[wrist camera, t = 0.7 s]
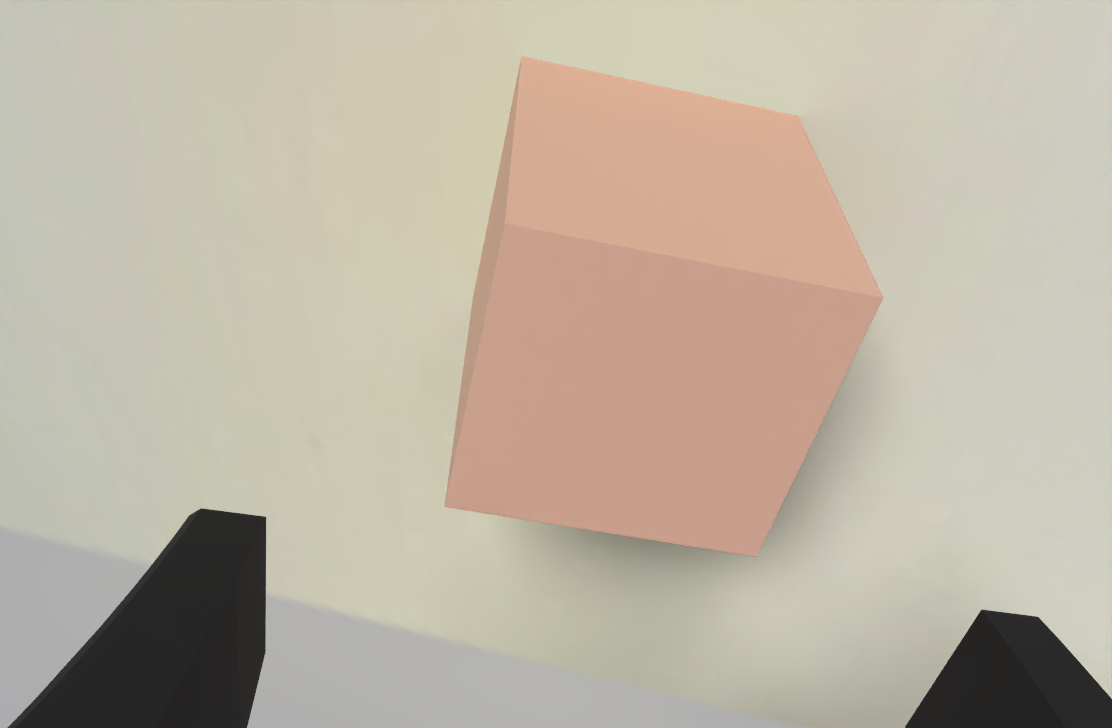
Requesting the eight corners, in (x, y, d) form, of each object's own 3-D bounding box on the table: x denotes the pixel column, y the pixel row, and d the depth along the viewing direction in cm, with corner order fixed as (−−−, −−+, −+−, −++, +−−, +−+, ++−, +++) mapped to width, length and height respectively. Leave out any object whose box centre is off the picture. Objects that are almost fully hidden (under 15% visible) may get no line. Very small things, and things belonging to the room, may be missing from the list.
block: (797, 115, 18) (883, 298, 13) (711, 339, 21) (756, 557, 16) (521, 55, 17) (504, 223, 12) (473, 295, 20) (444, 506, 15)
